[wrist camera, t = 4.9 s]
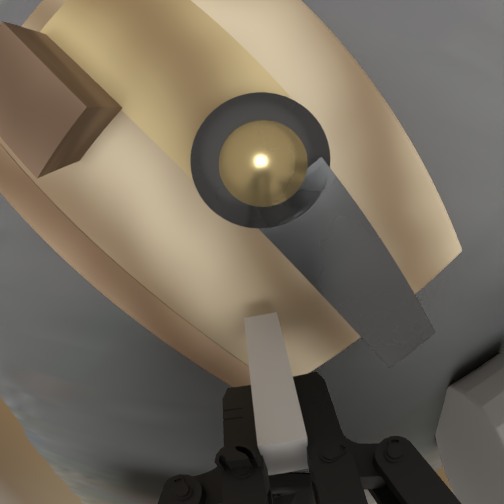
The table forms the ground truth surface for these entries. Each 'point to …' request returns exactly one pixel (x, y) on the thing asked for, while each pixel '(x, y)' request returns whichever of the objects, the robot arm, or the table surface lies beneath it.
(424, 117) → the table surface
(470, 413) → the alarm clock
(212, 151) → the latch bar
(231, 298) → the board
